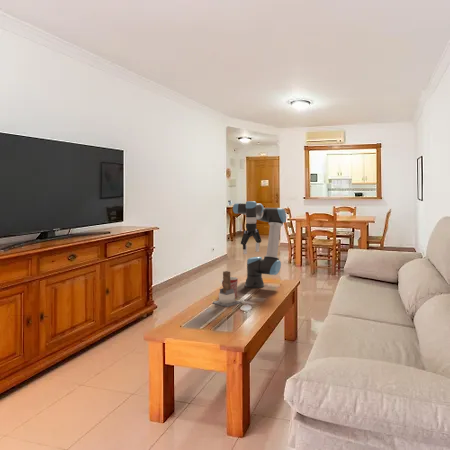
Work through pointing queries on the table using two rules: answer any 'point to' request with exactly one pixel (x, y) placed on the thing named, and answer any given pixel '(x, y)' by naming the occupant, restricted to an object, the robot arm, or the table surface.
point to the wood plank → (226, 281)
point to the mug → (233, 284)
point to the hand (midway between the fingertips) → (251, 252)
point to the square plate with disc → (227, 298)
